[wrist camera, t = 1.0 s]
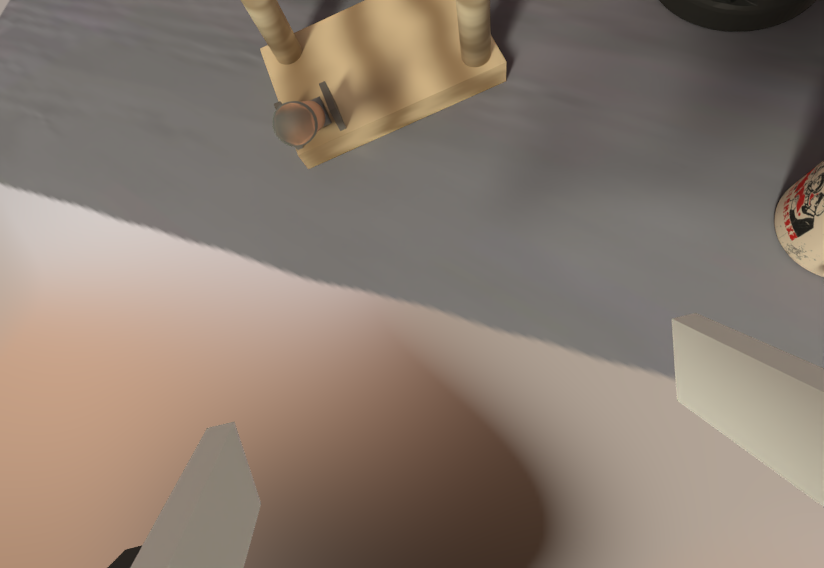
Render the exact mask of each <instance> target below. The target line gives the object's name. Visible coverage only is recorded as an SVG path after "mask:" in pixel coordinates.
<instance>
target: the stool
mask: <svg viewBox="0 0 824 568" xmlns="http://www.w3.org/2000/svg"><path fill="white" fill-rule="evenodd" d="M241 1H242V3H243V5H244V6H245V8H246V10H247V11H248V13H249V14H250V16H251V18H252V19H253V21H254V23H255V24H256V26H257V28H258V29H259V31H260V33H261V34H262V36H263V37H264V39H265V41H266V42H267V44H268V45H267V46H265V47H263V48H261V49H260V50H261V53H262V56H263V59H264V62H265V64H266V67H267V70H268V73H269V76H270V78H271V81H272V84H273V87H274V89H275V92H276V95H277V98H278V101H279V102H277V103H275V104H274V106H275V108H276V109H277V108H278V107H279V106H280V105H282V104H283V103H286V102H289V101H299V102H302V101H310V100H312V99H314V98H317V97H319V96H320V98H321V100H322V101H323V103H324V106H325V108H326V110H327V112H328V114H329V117H330V119H331V122H332V123H331V124H329V125H327V126H324V127H322V128H321V129H320V130H319V131H318V132H317V133H316V135H315V136H314V138H313V139H312V140H311V141H310V142H309V143H307V144H306V145H303V146H300V147H295V148H296V151H297V153H298V156H299V157H300V158H301V160H302V161H303V162H304V164H305V165H306V166H307V168H308V169H310V168H312V167H314V166H317V165H319V164H321V163H323V162H326V161H328V160H330V159H332V158H335V157H337V156H339V155H341V154H344V153H346V152H348V151H350V150H352V149H355V148H357V147H359V146H361V145H364V144H366V143H368V142H370V141H373V140H375V139H377V138H379V137H382V136H384V135H386V134H388V133H391V132H393V131H395V130H397V129H400V128H402V127H404V126H406V125H409V124H411V123H413V122H415V121H418V120H420V119H422V118H424V117H427V116H429V115H431V114H433V113H436V112H438V111H440V110H442V109H445V108H447V107H449V106H451V105H454V104H456V103H458V102H460V101H463V100H465V99H467V98H469V97H472V96H474V95H476V94H478V93H481V92H483V91H485V90H487V89H489V88H492V87H494V86H496V85H498V84H501V83H503V82H505V81H506V60H505V59H504V57H503V55H502V53H501V52H500V50H499V48H498V46H497V45H496V43H495V41H494V39H493V38H492V36H491V32H490V0H365V1H363V2H360V3H358V4H356V5H354V6H352V7H350V8H347V9H345V10H343V11H341V12H339V13H337V14H334V15H332V16H330V17H328V18H326V19H324V20H321V21H319V22H317V23H315V24H313V25H311V26H308V27H306V28H304V29H302V30H300V31H298V32H295V33H293V31H292V29H291V27H290V25H289V23H288V21H287V19H286V17H285V16H284V14H283V12H282V10H281V8H280V6H279V4H278V2H277V0H241Z"/></svg>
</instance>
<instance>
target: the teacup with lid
mask: <svg viewBox="0 0 824 568" xmlns="http://www.w3.org/2000/svg"><path fill="white" fill-rule="evenodd" d="M775 230H776V234H777V237H778V239H779V241H780V243H781V245H782V247H783V248H784V250H785V251H786V252H787V254H788V255H789V256H790V257H791V258H792V259H793V260H794V261H795V262H796V263H798V264H799V265H800V266H802V267H803V268H805V269H807V270H808V271H810V272H812V273H814V274H817V275H819V276H822V277H824V160H823V161H822V162H821V163H820V164H819V165H817V166H816V167H815V168H814V169H812V170H811V171H810V172H809V173H807V174H806V175H805V176H804V177H802V178H801V179H800V180H799V181H797V182H796V183H795V184H794V185H792V186H791V187H790V188H789V189H788V190H787V191H786V192H785V193H784V195H783V196H782V197H781V199H780V201H779V203H778V205H777V208H776V212H775Z"/></svg>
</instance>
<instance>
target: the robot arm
mask: <svg viewBox="0 0 824 568" xmlns="http://www.w3.org/2000/svg"><path fill="white" fill-rule="evenodd" d="M815 1H816V0H660V2H661V3H662V4H663V5H664V6H665V7H666V8H668V9H669V10H670V11H671V12H673V13H674V14H676V15H677V16H679V17H681V18H682V19H684V20H686V21H688V22H691V23H693V24H696V25H699V26H702V27H706V28H710V29H715V30H722V31H752V30H759V29H764V28H768V27H772V26H775V25H778V24H781V23H783V22H786V21H788V20H790V19H792V18H794V17H795V16H797V15H799V14H800V13H802V12H803V11H805V10H806V9H807V8H809V7H810V6H811V5H812V4H813V3H814V2H815ZM672 330H673V346H674V362H675V378H676V393H677V401H679V402H680V403H681V404H683V405H684V406H685V407H687V408H688V409H689V410H691V411H692V412H694V413H695V414H697V415H698V416H699V417H700V418H702V419H703V420H705V421H706V422H707V423H709V424H710V425H712V426H713V427H714V428H716V429H717V430H718V431H720V432H721V433H722V434H724V435H725V436H727V437H728V438H729V439H731V440H732V441H733V442H735V443H736V444H738V445H739V446H740V447H742V448H743V449H744V450H746V451H747V452H749V453H750V454H751V455H753V456H754V457H755V458H757V459H758V460H760V461H761V462H762V463H764V464H765V465H766V466H768V467H769V468H771V469H772V470H773V471H775V472H776V473H777V474H779V475H780V476H782V477H783V478H784V479H786V480H787V481H788V482H790V483H791V484H793V485H794V486H795V487H797V488H798V489H799V490H801V491H802V492H803V493H805V494H806V495H808V496H809V497H810V498H812V499H813V500H815V501H816V502H817V503H819V504H820V505H821V506H823V507H824V368H821V367H819V366H817V365H814V364H812V363H810V362H807V361H805V360H803V359H801V358H798V357H796V356H794V355H791V354H789V353H787V352H784V351H782V350H780V349H777V348H775V347H773V346H771V345H768V344H766V343H764V342H761V341H759V340H757V339H754V338H752V337H750V336H747V335H745V334H743V333H741V332H738V331H736V330H734V329H731V328H729V327H727V326H724V325H722V324H720V323H717V322H715V321H713V320H711V319H708V318H706V317H704V316H701V315H699V314H697V313H694V314H690V315H685V316H681V317H677V318H673V319H672ZM260 505H261V502H260V499H259V496H258V493H257V490H256V487H255V483H254V480H253V477H252V474H251V471H250V468H249V465H248V462H247V459H246V456H245V453H244V450H243V447H242V444H241V441H240V438H239V434H238V432H237V428H236V425H235V422H231V423H227V424H223V425H219V426H215V427H210V428H207V430H206V431H205V433H204V435H203V437H202V439H201V440H200V442H199V444H198V446H197V448H196V449H195V451H194V453H193V455H192V457H191V459H190V460H189V462H188V464H187V466H186V468H185V469H184V471H183V473H182V475H181V477H180V478H179V480H178V482H177V484H176V486H175V487H174V489H173V491H172V493H171V495H170V496H169V498H168V500H167V502H166V504H165V506H164V507H163V509H162V511H161V513H160V515H159V516H158V518H157V520H156V522H155V524H154V525H153V528H152V529H151V531H150V533H149V535H148V537H147V538H146V540H145V542H144V544H143V545H142V546H138V547H134V548H130V549H127V550H125V551H124V552H123V553H122V554H121V555H120V556H119V557H118V558H117V559H116V560H115V561H114V562H113V563H112V564H111V565H110V566H109V567H108V568H244V564H245V560H246V556H247V553H248V549H249V546H250V542H251V538H252V535H253V531H254V527H255V524H256V520H257V516H258V512H259V509H260Z"/></svg>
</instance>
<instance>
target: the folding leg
mask: <svg viewBox="0 0 824 568" xmlns="http://www.w3.org/2000/svg"><path fill="white" fill-rule="evenodd" d="M331 123H332V122H331V119H330V117H329V114H328V112H327V110H326V108H325V106H324V103H323V101H322V100H321V98H320V96H319V97H317V98H314V99H312V100H310V101H302V102H299V101H289V102H286V103H283V104H282V105H280V106H279V107H278V108H277V109H276V111H275V113H274V115H273V120H272V125H273V129H274V132H275V134H276V136H277V137H278V138H279V139H280V140H281V141H282V142H283V143H285V144H287V145H289V146H293V147H300V146H303V145H306V144H307V143H309V142H310V141H311V140H312V139H313V138H314V136H315V135H316V133H317V132H318V131H319V130H320V129H321V128H322V127H324V126H327V125H329V124H331Z"/></svg>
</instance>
